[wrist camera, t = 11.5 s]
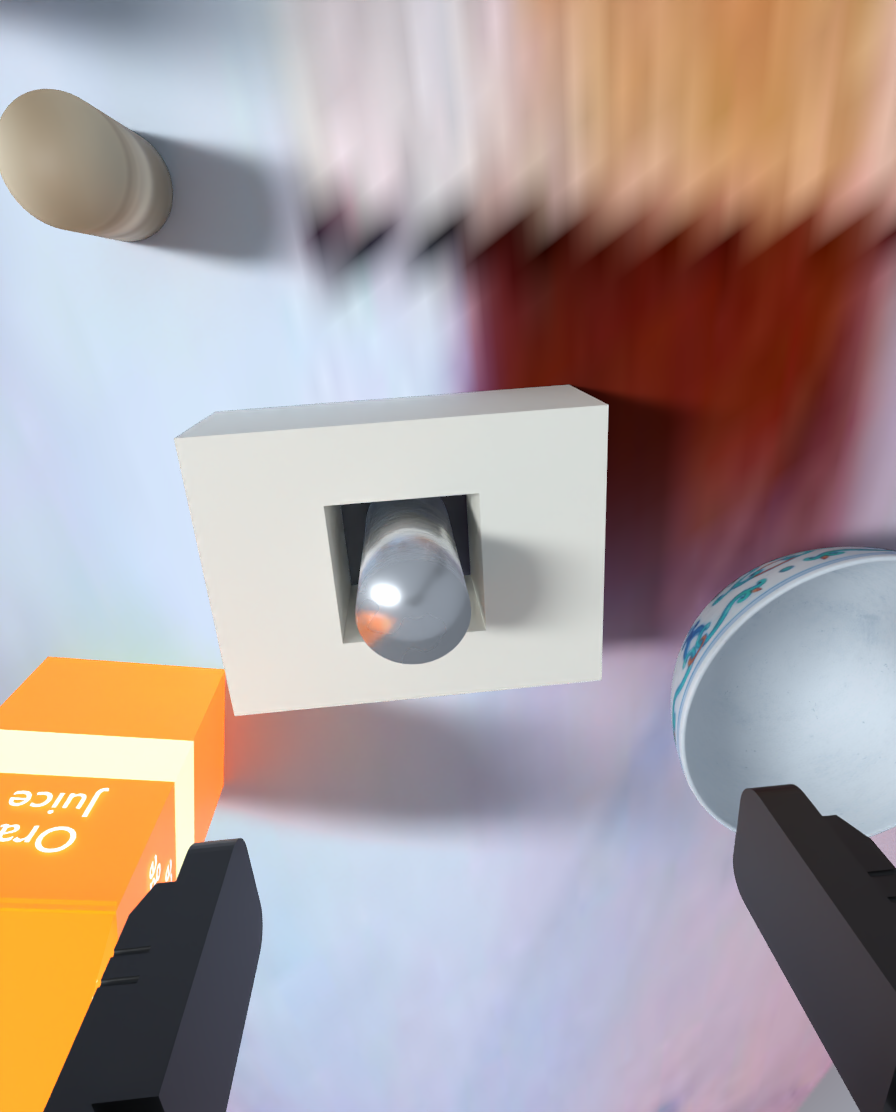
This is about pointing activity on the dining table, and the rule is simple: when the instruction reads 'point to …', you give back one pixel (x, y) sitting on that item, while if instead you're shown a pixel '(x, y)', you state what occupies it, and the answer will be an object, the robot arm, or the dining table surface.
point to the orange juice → (90, 836)
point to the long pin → (411, 582)
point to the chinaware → (795, 687)
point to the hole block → (395, 474)
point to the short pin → (82, 168)
